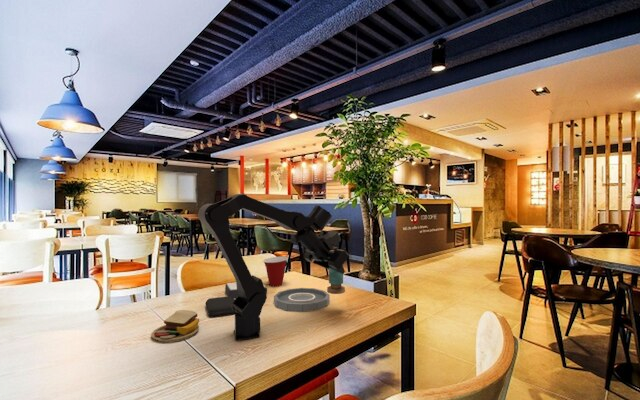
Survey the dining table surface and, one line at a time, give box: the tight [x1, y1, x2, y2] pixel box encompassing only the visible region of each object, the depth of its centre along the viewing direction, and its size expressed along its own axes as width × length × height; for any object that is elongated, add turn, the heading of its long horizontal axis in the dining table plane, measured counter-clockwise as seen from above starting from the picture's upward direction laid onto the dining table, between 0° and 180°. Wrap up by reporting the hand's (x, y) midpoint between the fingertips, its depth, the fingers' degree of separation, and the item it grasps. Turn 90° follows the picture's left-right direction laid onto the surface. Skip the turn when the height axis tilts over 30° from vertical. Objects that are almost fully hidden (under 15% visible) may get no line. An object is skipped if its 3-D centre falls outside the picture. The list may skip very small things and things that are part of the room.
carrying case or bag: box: [204, 295, 236, 318], centre depth 113 cm, size 11×3×15 cm
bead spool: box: [326, 268, 346, 295], centre depth 109 cm, size 6×6×13 cm
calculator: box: [224, 282, 268, 299], centre depth 132 cm, size 11×4×15 cm
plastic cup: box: [262, 256, 288, 287], centre depth 144 cm, size 11×11×12 cm
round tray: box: [273, 287, 331, 313], centre depth 120 cm, size 20×20×2 cm
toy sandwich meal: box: [150, 309, 200, 343], centre depth 93 cm, size 12×14×5 cm
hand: (339, 271), depth 110 cm, fingers closed on bead spool, 5 cm apart
